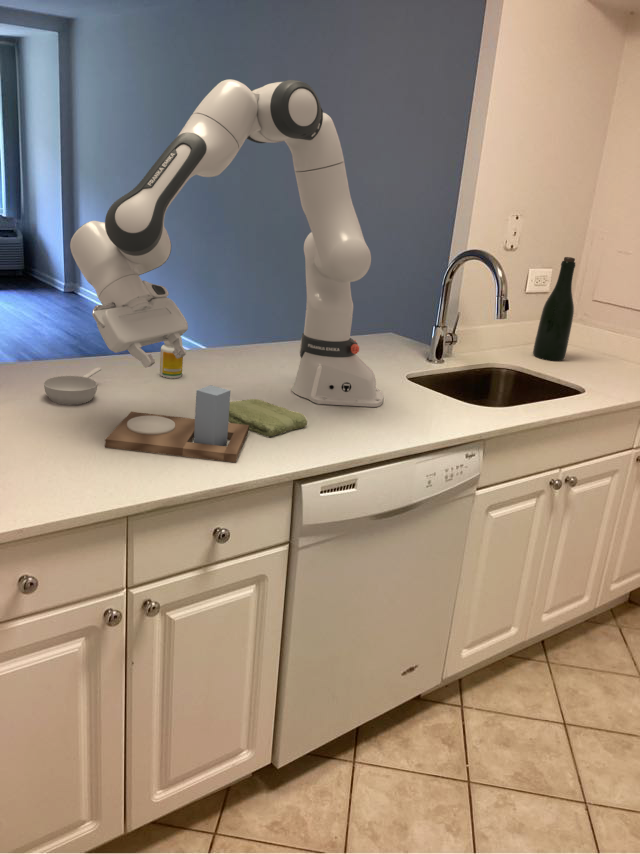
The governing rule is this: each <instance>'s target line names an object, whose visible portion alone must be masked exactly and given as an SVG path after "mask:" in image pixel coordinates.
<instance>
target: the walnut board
mask: <svg viewBox="0 0 640 854" xmlns="http://www.w3.org/2000/svg"><path fill="white" fill-rule="evenodd" d="M139 416H160V417H165V418H168V419H171V420H172V421H174V422H175V429H174V430H173V431H171V432H169V433H166V434H160V435H145V434H139V433H135V432H133V431H131V430H129V429H128V427H127V422H128V421H129V420H130V419H132V418H135V417H139ZM194 430H195V418H192V417H191V418H190V417H183V416H182V417H181V416H175V415H174V416H172V415H163V414H156V413H147V412H139V411H130V412H129V413H128V415H126V417H124V419H122V421H121V422H120V423H118V425H117V426H116V427H115V428H114V429H113V430H112V431H111V432H110V433H109V434H108V436H106V438H104V447H105V448H108V449H117V450H125V451H133V452H134V451H135V452H142V453H151V454H159V455H168V456H176V457H177V456H178V457H184V458H185V457H186V458H191V459H192V458H193V459H202V460H211V461H220V462H227V463H228V462H229V463H236V462H237V460H238V458H239V456H240V453H241V451H242V449H243V446H244V444H245V441H246V439H247V437H248V434H249V431H250V430H249V425H243V424H234V423H230V422H228V436H227V441H229V442H228V443H227V445H226V446H218V445H209V444H201V443H194V442H193V441H194Z"/></svg>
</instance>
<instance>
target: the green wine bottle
mask: <svg viewBox="0 0 640 854" xmlns="http://www.w3.org/2000/svg"><path fill="white" fill-rule="evenodd" d="M575 260H576V258H574V257H570V256H565V257H563V260H562V261H561V262H560V270H559V273H558V277H557V281H556V284H555V286H554V288H553V289H552V291H551V293H550V294H549V296H548V298H547V300H546V301H545V303H544V305H543V308H542V310H541V314H540V319H539V323H538V328H537V332H536V335H535V341H534V345H533V351H532V355H533V356H535V357H536V358H538V357H539V359H542V358H543V359H542V360H546V359H547V361H552V360H558V361H557V362H559V360H561V361H563V360H565V358H566V354H567V351H568V345H569V341H570V336H571V332H572V331H571V330H572V327H573V326H572V325H573V321H574V319H573V318H574V314H575V305H574V298H573V292H572V291H573V290H572V289H573V288H572V286H573V279H574V274H575V273H574V271H575V268H576V262H575Z"/></svg>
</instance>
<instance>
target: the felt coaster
mask: <svg viewBox="0 0 640 854" xmlns="http://www.w3.org/2000/svg"><path fill="white" fill-rule="evenodd" d="M127 427H128V429H129V430H131V431H133V432H135V433H139V434H145V435H160V434H166V433H169V432H171V431H173V430H174V429H175V422H174V421H172V420H171V419H168V418H165V417H160V416H139V417H135V418H132V419H130V420H129V421H128V422H127Z"/></svg>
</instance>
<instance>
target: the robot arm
mask: <svg viewBox="0 0 640 854" xmlns="http://www.w3.org/2000/svg"><path fill="white" fill-rule="evenodd" d="M246 140H248V141H251V142H253V143H257V144H267V143H268V144H269V143H270V144H271V143H272V144H273V143H274V144H275V143H282V142H285V144H286V145H287V146H288V147H287V148H288V149H289V150H290V152H291V156H292V164H293V170H294V174H295V180H296V184H297V189H298V194H299V199H300V205H301V208H302V211H303V213H304V215H305V217H306V220H307V223H308V225H309V228H310V232H309V234H307V236H306V238H305V240H304V243H303V254H304V258H305V261H304V262H305V286H306V305H305V306H306V307H305V308H306V309H305V319H304V329H303V333H302V335H301V338H300V343H299V344H300V345H299V346H300V347H299V357H300V358H299V359H300V360H299V364H298V369H297V371H296V376H295V379H294V382H293V385H292V387H291V392H292V393H294V394H295V395H297V396H299V397H302V398H305V399H307V400H310V401H311V402H312V403H314V404H316V405H317V404H318V405H334V406H351V407H352V406H354V407H369V408H371V407H372V408H376V407H379V406H381V405H383V403H384V393H383V392H382V391H381V390H380V389H378V388H377V381H376V376H375V373H374V371H373V370H372V369H371V367H370V366H369V365H367V363H365V361H363V359H361V358H360V356H358V355H357V354H358V353H359V352H360V345H358V344H359V343H358V342H357V340H356V339H353V338H352V337H351V332H352V330H351V329H352V324H353V314H354V302H353V298H352V288H351V283H352V282H357V281H359V280H361V279H362V278H364V276H366V275H367V273H368V271H369V270H370V268H371V263H372V254H371V250H370V248H369V247H368V245H367V242H366V241H365V238H364V234H363V231H362V227H361V224H360V222H359V218H358V215H357V213H356V209H355V207H354V204H353V200H352V197H351V193H350V192H351V191H350V186H349V181H348V176H347V170H346V165H345V157H344V153H343V149H342V145H341V141H340V137H339V135H338V132H337V129H336V126H335V123H334V121H333V119H332V117H331V116H330V115H328V113H326V112H324V111H323V108H322V106H321V102H320V100H319V97H318V95H317V93H316V92H315V90H314V89H313V88H312V87H311V86H310V85H309V84H308V83H307V82H303V81H301V80H296V79H295V80H293V79H288V80H284V81H276V82H272V83H268V84H265V85H263V86H261V87H259V88H255V89H250V87H248V86H247V85H246V84H245V83H243V82H240V81H239V80H236V79H225V80H222V81H220V82H219V83H217V84H216V85H215V86H214V87H213V88H212V90H210V91H209V92H208V94H206V95H205V97H203V99H202V101H200V103H199V104H198V106H197V107H196V108H195V109H194V111H193V113H192V114H191V115H190V117H189V118H188V120H187V121H186V123H185V125H184V126H183V127H182V129H181V130H180V132H179V134H178V135H177V136H176V137H175V138H174V139H173V141H172V142H170V144H169V145H168V146H167V147H166V148H165V150H163V152H162V153H161V155H159V157H158V158H157V159H156V161H155V163H153V165H152V166H151V167H150V169H149V170H148V171H147V173H146V174H145V175H144V176H143V178H142V179H141V180H140V181H139V183H137V185H136V186H135V187H133V189H131V190H130V191H128V192H127V193H125V194H124V195H122V196H121V197H119V198H118V199H116V200H115V201H114V202H113V203H112V204H111V206H110V207H109V209H108V210H107V213H106V215H105V218H104V219H105V220H104V222H102V221H98V220H90V221H88V222H85V223H84V224H81V226H80V227H78V228H77V230H76V231H75V232H74V233H73V235H72V237H71V239H70V244H69V247H70V251H71V255H72V257H73V259H74V261H75V263H76V266H77V267H78V269H79V271H80V272H81V274H82V276H83V277H84V278H85V280H86V282H88V284H89V285H91V286H92V287H93V288H94V290H95V292H96V296H97V299H98V301H100V303H101V304H97V305H95V306H94V307H93V309H92V313H91V315H92V318H93V319H94V320H95V321H94V322H96V326H97V329H98V331H99V333H100V336H101V337H102V339H103V341H104V343H105V345H106V346H107V348H108V349H109V350H110V351H112V352H113V353H114V354H115V353H116V354H117V353H120V352H121V353H122V352H126V351H128V353H129V354H130V355H131V356H132V357H133V358H135V359H137V360H138V361H139V362H140V363H141V364H142V366H143V368H151V367H152V366H153V365H154V364H156V363H155V362H156V361H155V359H154V357H153V355H152V354H148V353H147V352H145V350H143V349H142V347H145V346H149V345H154V344H157V343H161V342H164V341H166V340H168V341H169V342H170V344H173V346H174V351H173V354H174V355H175V357H176V358H177V359H178V358H182V357H183V358H185V356H186V355H187V351H186V350H185V348H184V345H183V339H182V338H183V337H182V335H184V334H185V333H186V332H187V331H188V330H189V329H188V328H189V325H188V321H187V319H186V317H185V316H184V314H183V313H182V311H181V309H180V308H179V307H178V305H177V304H176V303H175V301H174V300H172V299H171V298H169V297H168V296H169V295H170V294H169V291H168V289H167V287H165V286H163V285H160V284H155V283H152V282H149V281H146V280H142V278H141V277H140V276H142V275H144V274H146V273H149V272H151V271H154V270H156V269H158V268H160V267H162V266H163V265H164V264H166V262H167V260H168V259H169V257H170V256H171V252H172V242H171V239H170V236H169V233H168V231H167V229H166V227H165V216H166V212H167V210H168V208H169V206H170V205H171V204H172V202H173V201H174V200H175V198H176V197H177V196H178V194H179V193H180V192H181V190H182V189H183V188H184V187H185V185H186V184H187V182H188V181H189V180H190V179H192V177H194V176H199V177H204V178H212V177H218V176H219V175H220V174H222V173H223V172H224V171H225V170H226V169H227V168H228V166H229V165H230V164H231V163H232V161H234V159H235V158H236V156H237V154H238V152H239V151H240V150H241V148H242V146H243V145H244V143H245V141H246Z"/></svg>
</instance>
